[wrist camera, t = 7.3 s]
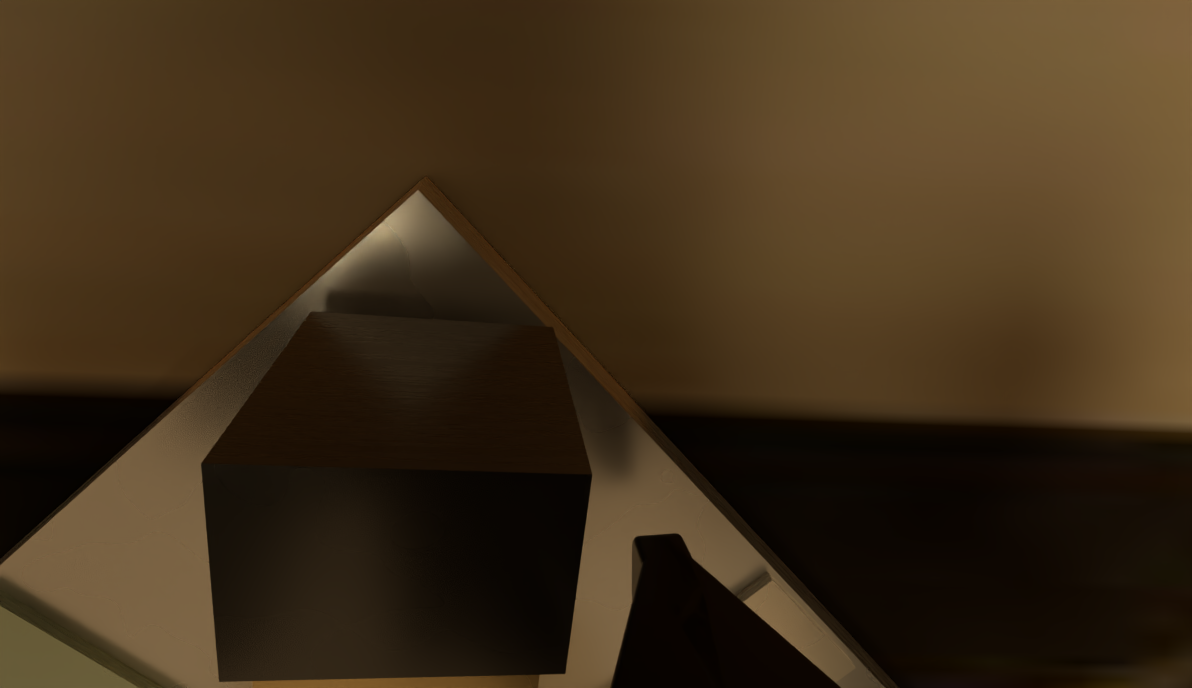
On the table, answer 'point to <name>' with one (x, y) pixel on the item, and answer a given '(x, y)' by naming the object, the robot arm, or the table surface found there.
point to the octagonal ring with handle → (399, 509)
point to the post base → (200, 416)
